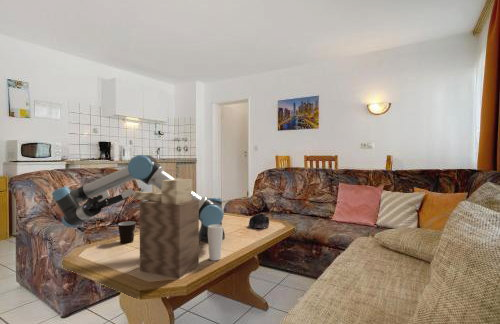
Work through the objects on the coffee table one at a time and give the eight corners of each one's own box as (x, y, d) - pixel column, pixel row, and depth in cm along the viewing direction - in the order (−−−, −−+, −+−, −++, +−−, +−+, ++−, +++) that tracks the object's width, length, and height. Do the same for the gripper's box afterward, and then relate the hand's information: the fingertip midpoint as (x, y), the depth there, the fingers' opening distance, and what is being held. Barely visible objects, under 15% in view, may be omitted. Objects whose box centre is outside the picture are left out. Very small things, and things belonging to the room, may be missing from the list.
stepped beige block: (126, 200, 116) (126, 178, 116) (144, 196, 126) (144, 177, 126) (176, 204, 107) (176, 181, 107) (191, 200, 118) (191, 179, 118)
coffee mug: (129, 244, 145) (129, 225, 145) (114, 243, 147) (114, 224, 146) (141, 238, 156) (141, 220, 156) (128, 237, 158) (128, 219, 158)
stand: (139, 270, 112) (139, 202, 112) (162, 258, 125) (162, 197, 125) (179, 278, 106) (179, 205, 105) (198, 264, 119) (198, 199, 118)
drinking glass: (208, 256, 129) (208, 224, 129) (222, 256, 130) (222, 224, 129) (207, 261, 122) (207, 228, 122) (222, 261, 123) (222, 227, 123)
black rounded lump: (247, 225, 190) (246, 211, 189) (267, 223, 192) (266, 209, 191) (250, 232, 177) (249, 217, 176) (270, 230, 179) (269, 215, 178)
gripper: (113, 212, 143) (143, 196, 137) (66, 221, 120) (99, 202, 113) (108, 199, 144) (138, 182, 138) (61, 205, 121) (94, 186, 115)
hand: (121, 191), depth 126 cm, fingers open, 13 cm apart
